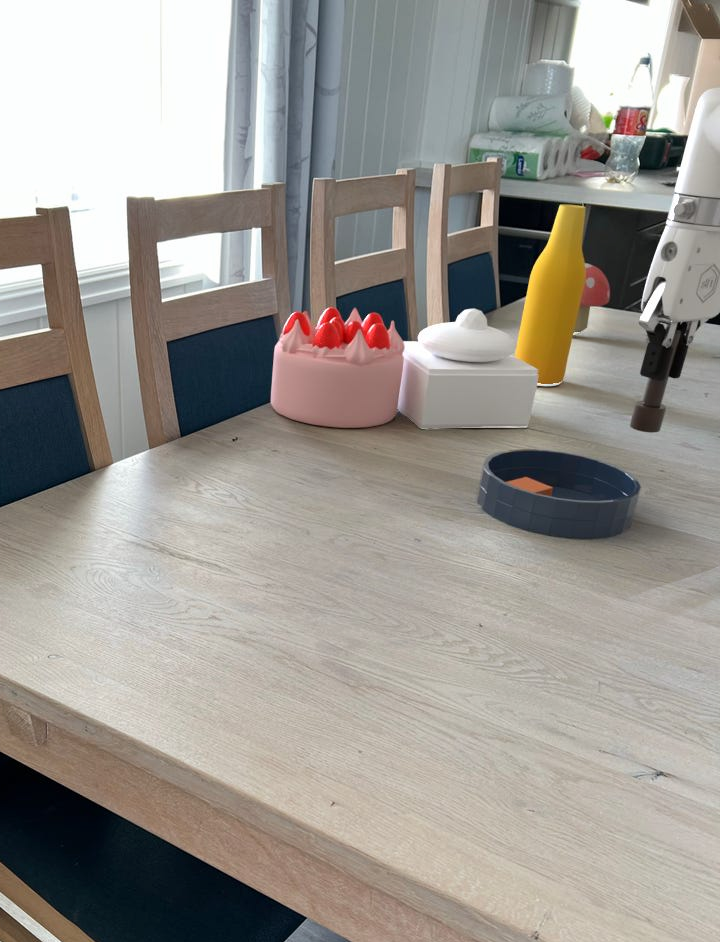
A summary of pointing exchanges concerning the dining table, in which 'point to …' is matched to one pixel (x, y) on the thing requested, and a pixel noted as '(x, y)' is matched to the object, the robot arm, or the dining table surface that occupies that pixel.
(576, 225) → the beer bottle
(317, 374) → the cake
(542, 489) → the block
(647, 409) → the pestle
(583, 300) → the decorative mushroom
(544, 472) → the bowl
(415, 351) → the butter dish
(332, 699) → the dining table surface
